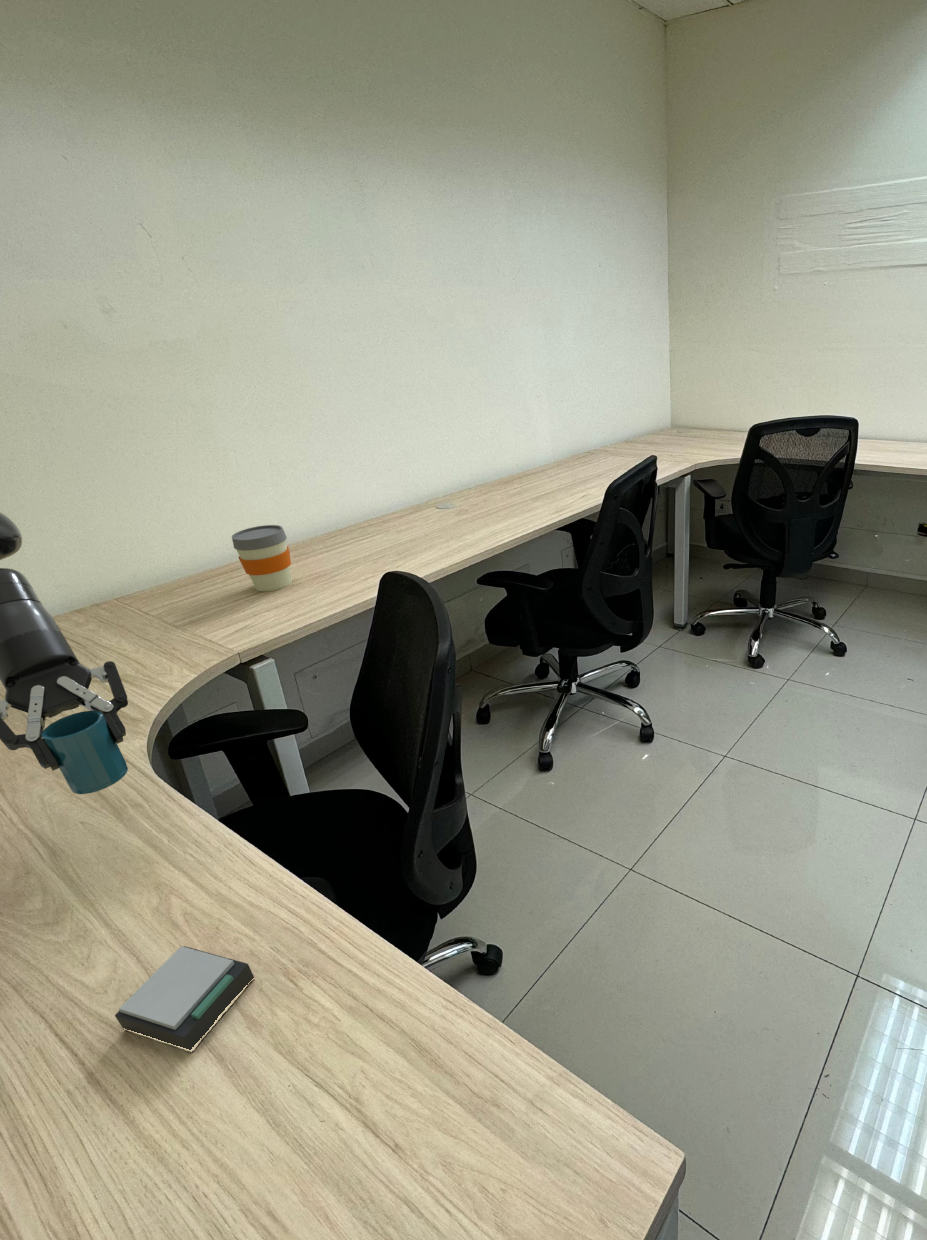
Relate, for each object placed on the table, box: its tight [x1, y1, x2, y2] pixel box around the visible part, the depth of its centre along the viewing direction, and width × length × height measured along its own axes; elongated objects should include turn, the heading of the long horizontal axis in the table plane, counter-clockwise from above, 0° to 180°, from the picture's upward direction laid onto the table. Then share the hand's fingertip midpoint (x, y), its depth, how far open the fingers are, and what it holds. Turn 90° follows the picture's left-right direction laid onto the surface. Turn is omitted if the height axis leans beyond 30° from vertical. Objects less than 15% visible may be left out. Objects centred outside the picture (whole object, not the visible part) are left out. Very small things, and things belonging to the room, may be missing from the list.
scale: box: [114, 945, 255, 1050], centre depth 67 cm, size 9×8×3 cm
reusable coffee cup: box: [231, 524, 293, 592], centre depth 172 cm, size 13×12×15 cm
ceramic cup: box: [41, 710, 129, 795], centre depth 82 cm, size 6×6×8 cm
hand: (88, 753), depth 80 cm, fingers closed on ceramic cup, 6 cm apart
